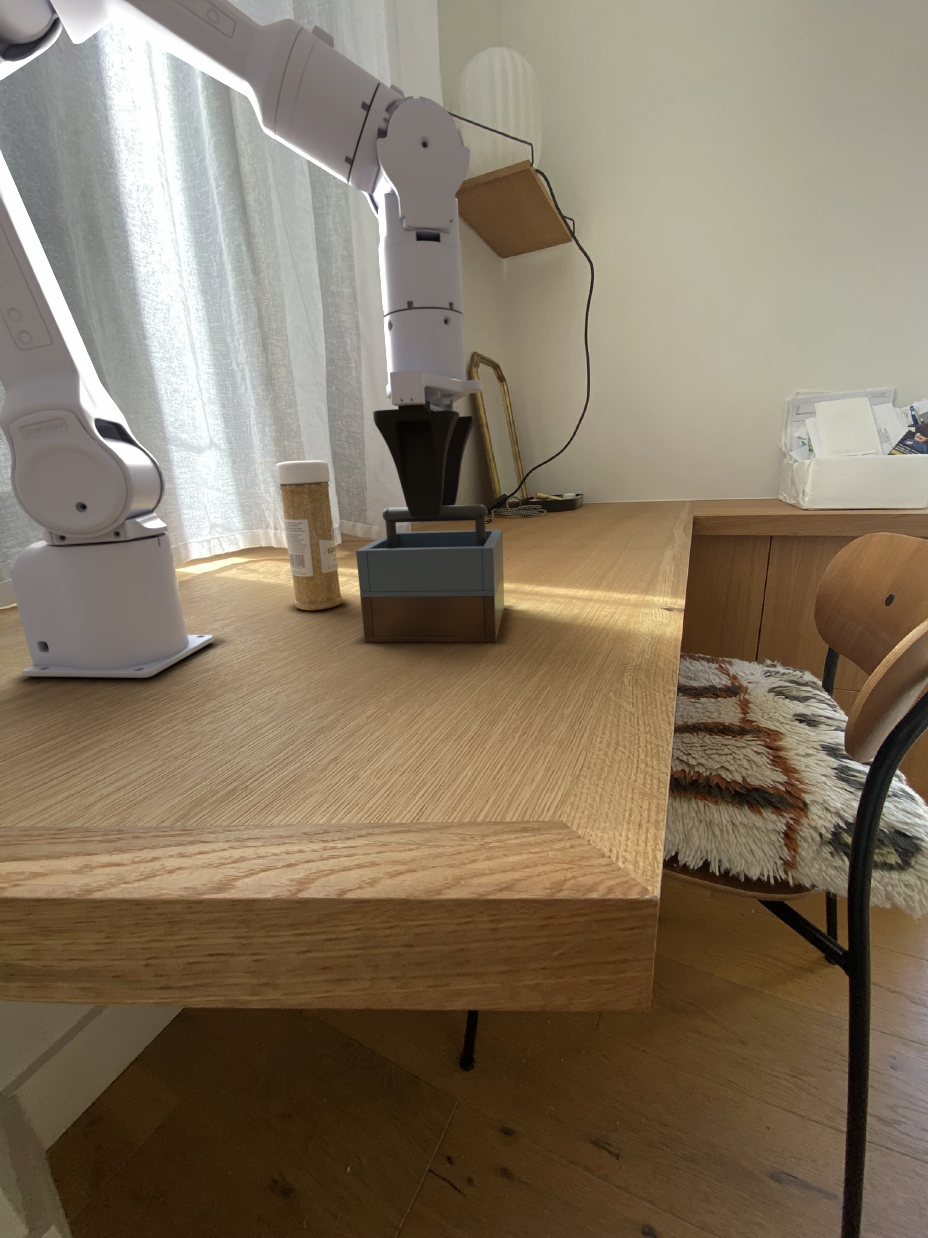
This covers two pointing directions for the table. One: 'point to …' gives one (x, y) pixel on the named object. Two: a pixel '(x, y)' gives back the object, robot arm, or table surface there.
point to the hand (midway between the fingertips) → (434, 510)
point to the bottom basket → (433, 618)
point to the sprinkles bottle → (310, 533)
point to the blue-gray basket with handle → (432, 557)
